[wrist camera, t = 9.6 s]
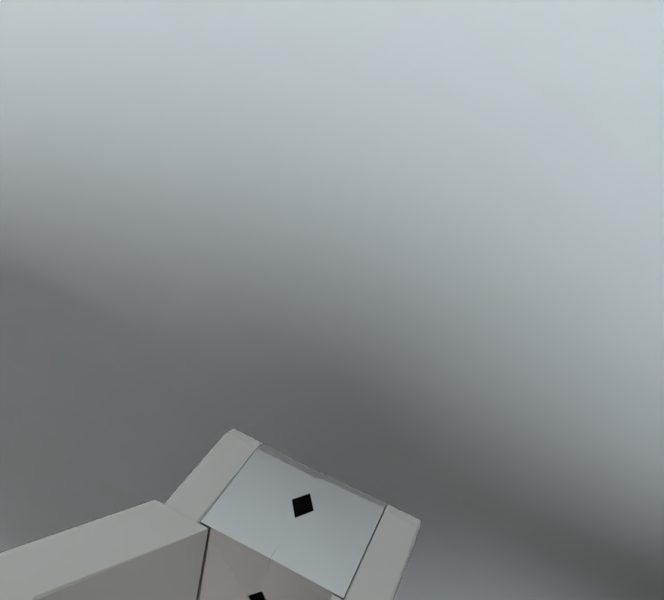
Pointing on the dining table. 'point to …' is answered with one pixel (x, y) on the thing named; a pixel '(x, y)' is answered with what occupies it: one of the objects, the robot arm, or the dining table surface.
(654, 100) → the dining table surface
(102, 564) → the robot arm
